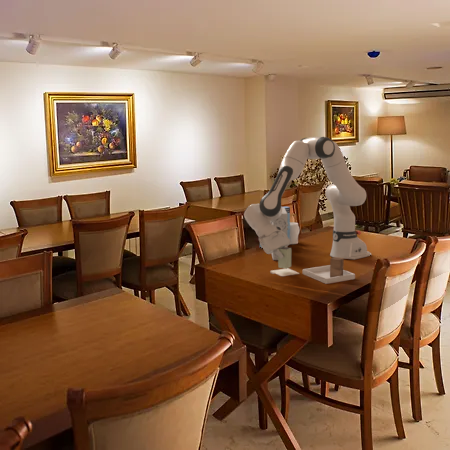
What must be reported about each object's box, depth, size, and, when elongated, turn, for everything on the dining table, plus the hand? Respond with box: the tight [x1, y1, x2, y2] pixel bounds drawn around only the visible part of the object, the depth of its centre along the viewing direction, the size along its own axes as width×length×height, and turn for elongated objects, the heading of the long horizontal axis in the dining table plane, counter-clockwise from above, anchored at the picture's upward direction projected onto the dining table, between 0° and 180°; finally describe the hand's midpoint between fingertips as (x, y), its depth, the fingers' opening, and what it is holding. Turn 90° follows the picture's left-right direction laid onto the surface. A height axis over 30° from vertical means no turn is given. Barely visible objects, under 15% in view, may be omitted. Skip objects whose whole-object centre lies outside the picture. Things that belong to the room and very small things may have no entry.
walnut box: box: [329, 257, 345, 278], centre depth 229 cm, size 4×4×9 cm
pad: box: [269, 267, 300, 277], centre depth 239 cm, size 10×10×1 cm
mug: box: [290, 221, 300, 245], centre depth 307 cm, size 12×8×12 cm
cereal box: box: [270, 206, 288, 261], centre depth 274 cm, size 22×8×25 cm, turn 178°
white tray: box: [302, 264, 356, 285], centre depth 232 cm, size 16×18×3 cm
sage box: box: [277, 246, 292, 269], centre depth 238 cm, size 4×4×9 cm
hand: (286, 256), depth 238 cm, fingers closed on sage box, 4 cm apart
